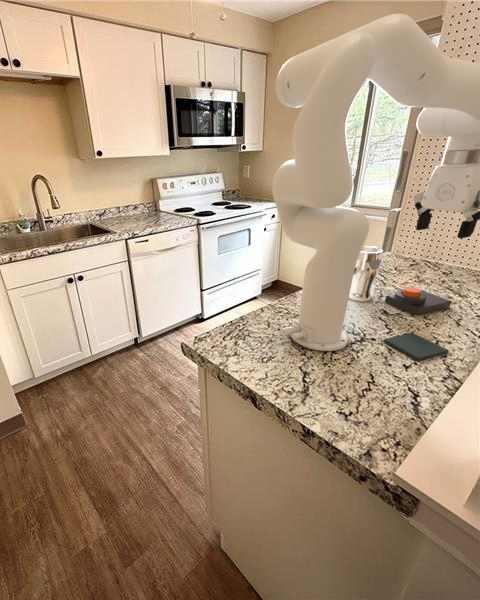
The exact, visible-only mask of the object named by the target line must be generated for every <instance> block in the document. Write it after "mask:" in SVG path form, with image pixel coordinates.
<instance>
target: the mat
mask: <svg viewBox="0 0 480 600" xmlns="http://www.w3.org/2000/svg"><path fill="white" fill-rule="evenodd" d="M383 343H384V344H387V345H388V346H389V347H391V348H394V350H397V351H399V352H401V353H402V354H404V355H406V356H408V357H410V358H411V359H412V360H414V361H417V362H420V361H424V360H427V359H431V358H435V357H439V356H443V355H447V354H448V353H449V350H448V348H447V349H446V348H445V347H443V346H441V345H438V344H436V343H434V342H432V341H430V340H429V339H426V338H424V337H422V336H420V335H418V334H416V333H414V332H409V333H405V334H400V335H396V336H393V337H388V338H385V339H383Z"/></svg>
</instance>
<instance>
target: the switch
mask: <svg viewBox="0 0 480 600" xmlns="http://www.w3.org/2000/svg"><path fill="white" fill-rule="evenodd" d="M403 289H404V290H403V293H402V295H404V296H408V297H416V298H417V297H419V296H420V292H421V290H422V289H420V288H417V287H412V286H405V287H403Z"/></svg>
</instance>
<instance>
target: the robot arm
mask: <svg viewBox="0 0 480 600" xmlns="http://www.w3.org/2000/svg"><path fill="white" fill-rule="evenodd" d="M366 81H371V82H372V83H373V84H374V85H375V86H376V87H377V88H379V89H380V90H381V91H382V92H383V93H384V94H386V96H388V97H389V98H390V99H391V100H392V101H393V102H394V103H396V105H397V104H398V105H400V106H405V107H410V108H411V107H412V108H422V110H421V111H420V112H419V114H418V116H417V118H416V130H417V131H418V132H419V134H420V135H422V136H425V137H428V138H442V137H448V139H447V143H446V147H445V150H444V152H443V153H440V154H439V156H438V159H439V160H441V163H440V164H439V165H436V166H435V169H434V170H433V172H432V173H431V176H430V178H429V180H428V183H427V185H426V188H425V190H424V191H422V192H419V193H416V194H415V195H413V201H414V207H415V208H416V213H417V215H418V218H417V222H416V227H415V230H416V231H423V230H428V229H429V228H430V227H429V226H430V223H431V220H432V216H433V213H432V211H434V210H436V211H441V212H443V211H444V212H450V213H462V215H463V217H464V218H465V220H463V221H461V224H460V226H459V230H458V233H457V236H456V237H457V238H458V239H465V238H466V239H467V238H470V237H471V236H472V235H473V233H474V232H475V229H476V225H477V223H478V221H480V210H479V208H480V63H478V62H473V61H470V60H464V59H461V58H456V57H450V56H446V55H445V54H444V53H443V52H442V51H441V50H440V48H439V47H438V46H437V45H436V44H435V43H434V42H433V40H432V39H431V38H430V37H429V36H428V34H427V33H426V32H425V31H424V30H423V29H422V28H421V27H420V25H418V23H417V22H416V21H415V20H414V18H412V17H411V16H409V15H408V14H405V13H392V14H388V15H385V16H383V17H380V18H378V19H376V20H373V21H370V22H368V23H366V24H363V25H362V26H360V27H357V28H355V29H352V30H349V31H348V32H346V33H344V34H342V35H340V36H337V37H335V38H333V39H330V40H327V41H325V42H323V43H321V44H319V45H316V46H315V47H312V48H309V49H307V50H305V51H302V52H300V53H298V54H296V55H294V56H292V57H289V59H288V60H287V61H285V62H284V64H283V65H282V67H281V68H280V70H279V72H278V74H277V76H276V80H275V87H274V88H275V94H276V97H277V99H278V101H279V102H280V103H281V104H282V105H283V106H285V107H287V108H300V107H301V110H300V111H299V114H298V116H297V119H296V121H295V123H294V127H293V130H292V134H291V135H292V136H291V145H292V146H291V147H292V151H293V157H294V158H292V159H289V160H287V161H285V162H284V163H283V164H281V165H280V166H279V168H278V169H277V170H276V172H275V175H274V177H273V181H272V197H273V201H274V205H275V207H276V211H277V214H278V217H279V221H280V224H281V227H282V230H283V232H284V234H285V236H286V237H287V239H289V241H291V242H293V243H295V244H298V245H302V246H304V247H308V248H311V249H314V250H315V254H314V255H313V256H312V257H311V259H310V260H309V261H308V262H307V263H306V266H305V270H304V275H303V283H302V291H301V298H300V305H299V313H298V319H295V320H294V322H293V324H292V325H291V326H286V327H282V328H280V330H279V333H280V335H281V336H282V337H287V336H290V338H291V339H292V340H293V341H294V342H295V343H297V344H298V345H300V346H302V347H304V348H307V349H310V350H314V351H319V352H334V351H335V352H336V351H338V350H341V349H345V347H346V346H347V345H348V341H349V336H348V334H347V333H346V332H345V331H344V329H343V328H344V322H345V319H346V318H345V317H346V313H347V309H348V303H349V299H350V298H349V294H350V289H351V284H352V279H353V274H354V270H355V266H356V262H357V259H358V256H359V254H360V251H361V249H362V247H363V246H365V245H364V244H365V242H366V240H367V238H368V235H369V233H370V222H369V219H368V218H367V216H366V215H365V214H364V213H363V212H361V211H359V210H357V209H354V208H350V207H345V206H341V205H343V204H344V203H345V202H346V201H347V200H348V199H349V198H350V196H351V194H352V191H353V184H354V183H353V172H352V166H351V160H350V153H349V147H348V140H347V119H348V117H349V114H350V110H351V108H352V106H353V104H354V102H355V100H356V98H357V96H358V94H359V92H360V91H361V89H362V88H363V86H364V84H365V83H366Z"/></svg>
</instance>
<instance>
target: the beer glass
mask: <svg viewBox="0 0 480 600" xmlns="http://www.w3.org/2000/svg"><path fill="white" fill-rule="evenodd" d="M383 253H384V249H383V248H381V247H377V246H371V245H369V246H368V245H363V247H362V249H361V251H360V254H359V256H358V259H357V262H356V266H355V270H354V274H353V279H352V284H351V289H350V294H349V299H350V300H352V301H356V302H368V301H370V300H371V299H372V287H373V285H374V282H375V280H376V278H377V276H378V274H379V272H380V269H381V265H382V260H383Z"/></svg>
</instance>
